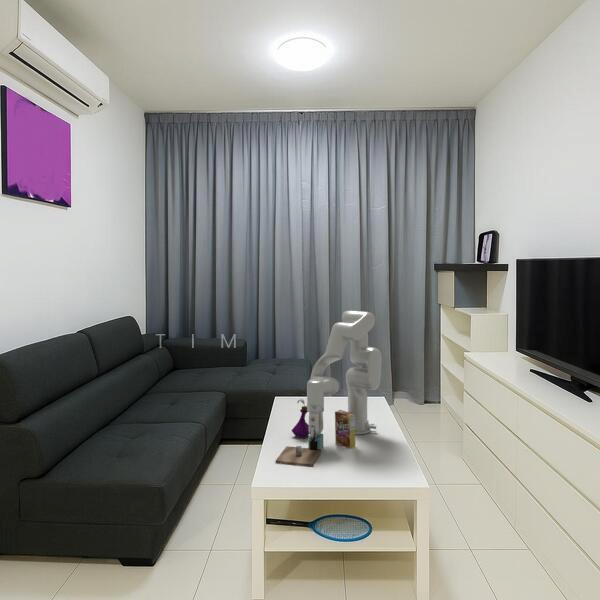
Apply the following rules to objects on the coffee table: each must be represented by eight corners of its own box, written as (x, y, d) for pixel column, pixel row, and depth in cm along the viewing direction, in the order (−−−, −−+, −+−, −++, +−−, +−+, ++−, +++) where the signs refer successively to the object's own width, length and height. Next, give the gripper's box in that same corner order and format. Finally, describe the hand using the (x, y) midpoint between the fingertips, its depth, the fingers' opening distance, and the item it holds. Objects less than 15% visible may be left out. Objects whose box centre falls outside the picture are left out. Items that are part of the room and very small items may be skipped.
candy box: (334, 443, 212) (334, 411, 211) (340, 441, 215) (340, 409, 214) (349, 448, 206) (349, 415, 205) (355, 446, 209) (355, 413, 208)
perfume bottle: (312, 435, 223) (312, 399, 222) (304, 440, 217) (303, 402, 215) (300, 432, 227) (299, 396, 226) (291, 437, 221) (290, 400, 220)
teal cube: (323, 446, 208) (323, 433, 208) (320, 451, 203) (320, 437, 203) (311, 445, 210) (311, 432, 209) (308, 450, 204) (308, 436, 204)
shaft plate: (321, 451, 203) (321, 441, 203) (312, 466, 188) (312, 456, 187) (286, 448, 207) (286, 438, 207) (275, 463, 192) (275, 452, 191)
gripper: (319, 413, 196) (319, 455, 197) (327, 402, 212) (327, 440, 213) (302, 412, 198) (302, 453, 199) (311, 401, 214) (311, 439, 215)
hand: (315, 446), depth 206 cm, fingers open, 6 cm apart
